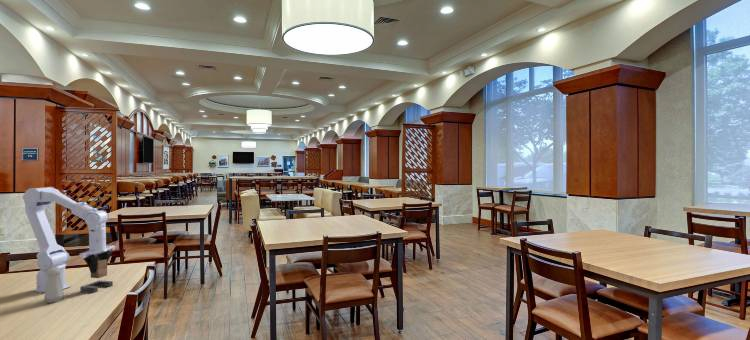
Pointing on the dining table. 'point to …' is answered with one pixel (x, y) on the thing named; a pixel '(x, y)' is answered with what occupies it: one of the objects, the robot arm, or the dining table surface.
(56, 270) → the grey vase
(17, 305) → the dining table surface
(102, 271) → the brown upright block
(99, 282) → the bracket slot
